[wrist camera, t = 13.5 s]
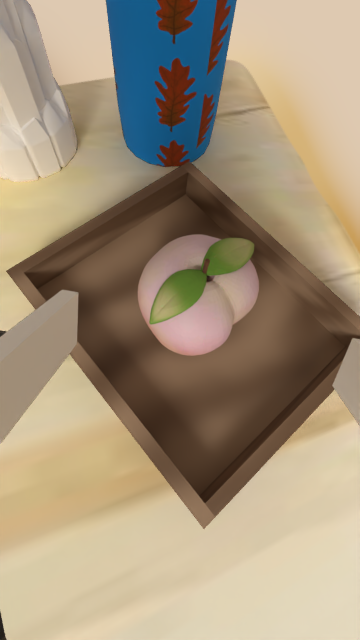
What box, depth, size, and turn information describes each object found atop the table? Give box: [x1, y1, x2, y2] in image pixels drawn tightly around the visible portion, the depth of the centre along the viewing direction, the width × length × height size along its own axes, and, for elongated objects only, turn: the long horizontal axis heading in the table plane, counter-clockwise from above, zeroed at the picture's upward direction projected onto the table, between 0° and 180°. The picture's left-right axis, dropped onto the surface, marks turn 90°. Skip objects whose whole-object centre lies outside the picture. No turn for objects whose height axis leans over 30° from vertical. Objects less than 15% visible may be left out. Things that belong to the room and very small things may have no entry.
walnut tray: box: [6, 162, 360, 529], centre depth 27 cm, size 24×20×4 cm
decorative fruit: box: [138, 234, 259, 356], centre depth 24 cm, size 9×8×10 cm
